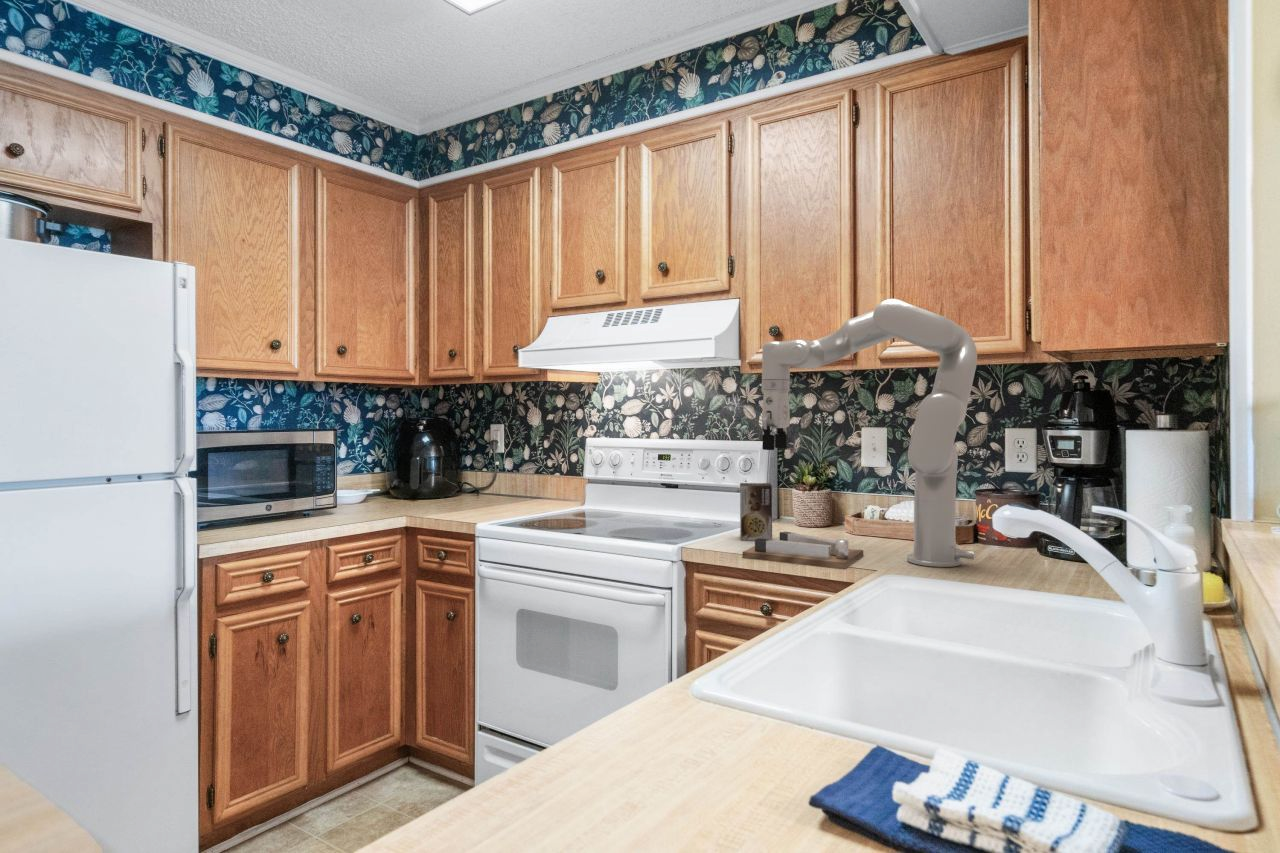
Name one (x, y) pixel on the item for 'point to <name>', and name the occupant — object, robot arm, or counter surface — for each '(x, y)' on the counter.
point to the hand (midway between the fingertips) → (774, 448)
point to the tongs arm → (807, 540)
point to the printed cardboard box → (755, 511)
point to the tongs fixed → (802, 548)
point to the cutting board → (805, 558)
